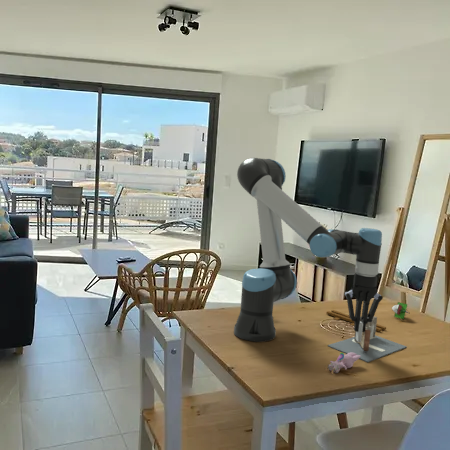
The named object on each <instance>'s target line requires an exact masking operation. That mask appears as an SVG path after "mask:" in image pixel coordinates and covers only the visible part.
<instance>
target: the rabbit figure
mask: <svg viewBox="0 0 450 450" xmlns="http://www.w3.org/2000/svg"><path fill="white" fill-rule="evenodd" d="M360 357H361V356H360V355H357V354H356V353H353V352H350V353H348V354H346V353H343V352H341V351H340V352H339V355H338V356H337V359H336V360H335V361H333V360H329V362H330V364H327V365H326V366H325V368H324V371H328V370H329V371H330V372H331V373H330V374H332V375H334V374H338V373H339V372H340V370H341V369H343V368H344V370H347V369H350V368H353V366H354V363H355V362H357V361H358V360H360V359H359V358H360ZM327 369H328V370H327Z"/></svg>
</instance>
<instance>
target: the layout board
mask: <svg viewBox="0 0 450 450" xmlns="http://www.w3.org/2000/svg"><path fill="white" fill-rule="evenodd" d="M354 339H355V336H352V337H349V338H346V339H343V340H339V341H336V342H333V343H330V344H327V347H329V348H331V349H333V350H336V351H339V352H340V353H341V352H342V353H343V354H345V355H346V354H348V353H350V352H353V353H356V354H357V355H360V356H361V357H360V358H359V359H358V360H360V361H362V362H365V363H370V362H373V361H375V360H378V359H380V358H383V357H385V356H388V354H389V355H391V354H394V353H396V352H398V351H401V349H402V350H404V349H406V348H407V347H408V346H406V345H404V344H402V343H398V342H394V341H392V340H390V339H387V338H384V337H381V336H378V335H376V334H375V337H372V338H370V342H369V350H368V351H364V350H363V348H362V347H361V345H360V344H359V343H358V342H355V341H354ZM393 352H394V353H393Z"/></svg>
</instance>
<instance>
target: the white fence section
mask: <svg viewBox="0 0 450 450" xmlns="http://www.w3.org/2000/svg"><path fill="white" fill-rule="evenodd" d="M361 317H362V316H360V321H361ZM377 322H378V317H377V316H375V315H374V317H373V320H372V322H367V324H366V329H367V330H371V333H370V338H372V337H375V335H376V332H377V331H376V324H378V323H377ZM354 337H355V338H356V332H355V331H354ZM354 341H355V342H357V340H356V339H354Z"/></svg>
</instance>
